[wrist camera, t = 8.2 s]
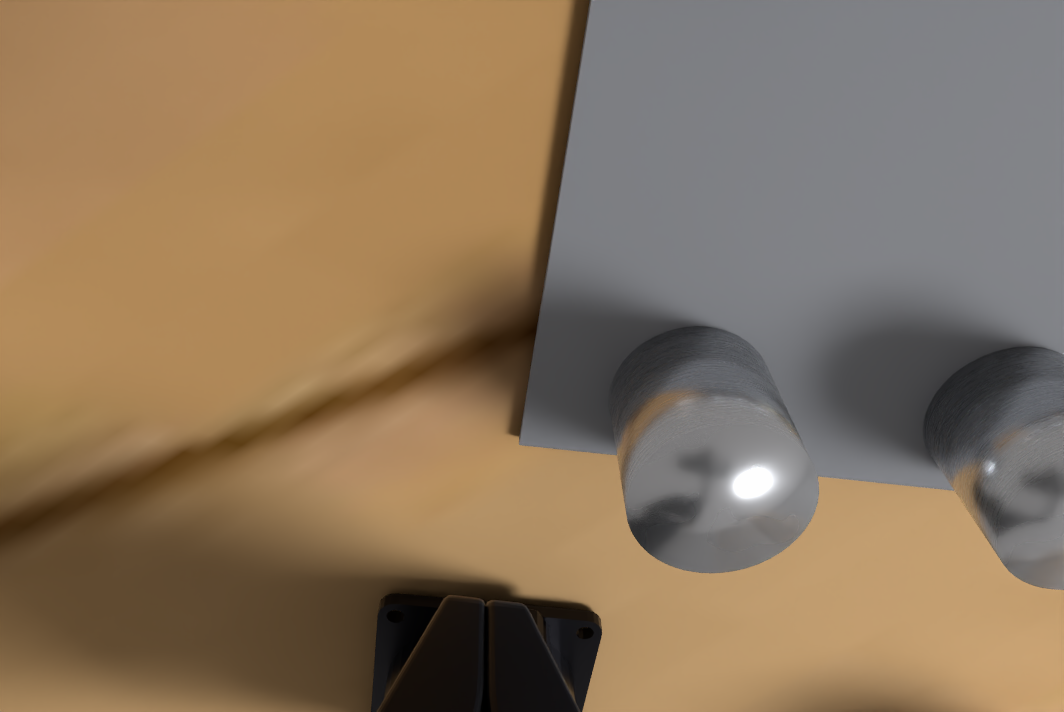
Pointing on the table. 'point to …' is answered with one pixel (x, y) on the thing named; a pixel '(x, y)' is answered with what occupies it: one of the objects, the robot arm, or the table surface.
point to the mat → (808, 209)
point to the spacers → (787, 471)
